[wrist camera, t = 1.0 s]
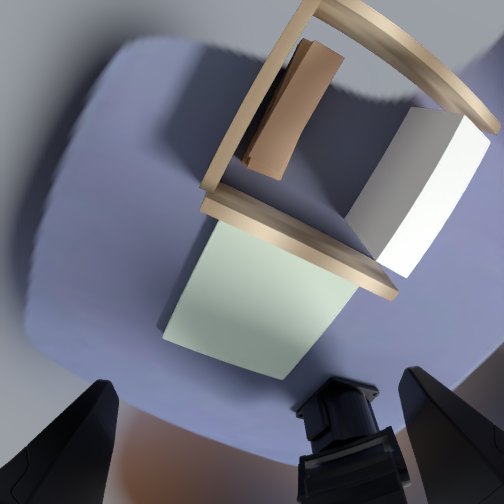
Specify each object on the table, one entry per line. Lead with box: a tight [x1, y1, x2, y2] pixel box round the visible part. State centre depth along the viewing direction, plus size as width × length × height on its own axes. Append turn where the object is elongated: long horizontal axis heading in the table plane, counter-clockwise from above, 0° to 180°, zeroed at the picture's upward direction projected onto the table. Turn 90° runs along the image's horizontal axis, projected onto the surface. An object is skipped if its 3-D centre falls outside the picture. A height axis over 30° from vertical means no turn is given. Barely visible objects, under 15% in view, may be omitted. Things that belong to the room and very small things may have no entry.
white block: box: [344, 107, 491, 278], centre depth 17 cm, size 2×9×6 cm, turn 152°
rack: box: [199, 0, 501, 302], centre depth 17 cm, size 14×14×4 cm
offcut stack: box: [241, 38, 344, 181], centre depth 16 cm, size 2×8×3 cm, turn 155°
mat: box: [162, 220, 359, 380], centre depth 24 cm, size 11×11×1 cm
